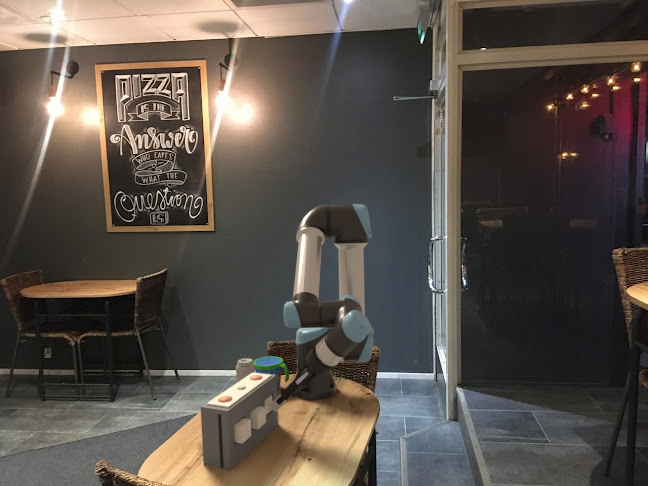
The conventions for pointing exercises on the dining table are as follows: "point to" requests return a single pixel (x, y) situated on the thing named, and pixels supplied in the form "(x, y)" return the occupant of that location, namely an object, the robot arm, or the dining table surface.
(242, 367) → the energy drink can
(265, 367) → the snack cup
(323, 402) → the dining table surface
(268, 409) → the button arm side
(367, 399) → the dining table surface
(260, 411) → the button middle
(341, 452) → the dining table surface
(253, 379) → the pattern card
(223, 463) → the console
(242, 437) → the button edge side
